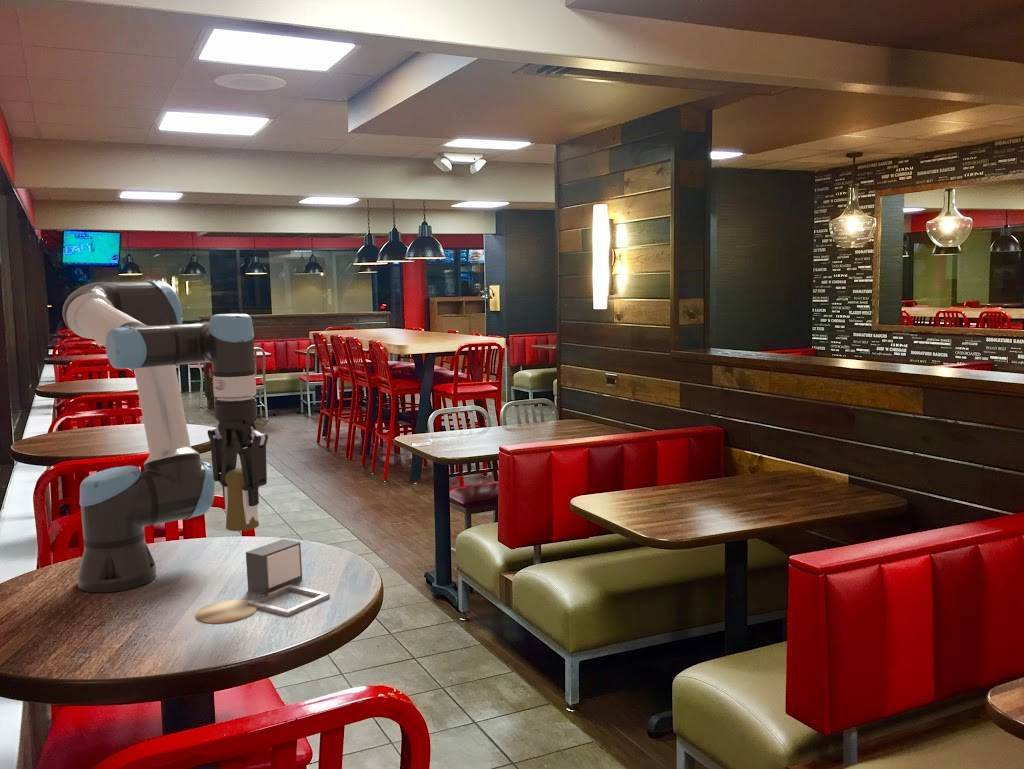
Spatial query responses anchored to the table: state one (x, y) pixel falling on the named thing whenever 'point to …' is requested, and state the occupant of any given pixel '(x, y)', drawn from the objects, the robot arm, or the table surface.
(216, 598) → the table surface
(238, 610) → the tan round coaster
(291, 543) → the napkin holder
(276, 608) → the taupe square frame
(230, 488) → the pepper shaker
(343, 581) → the table surface
